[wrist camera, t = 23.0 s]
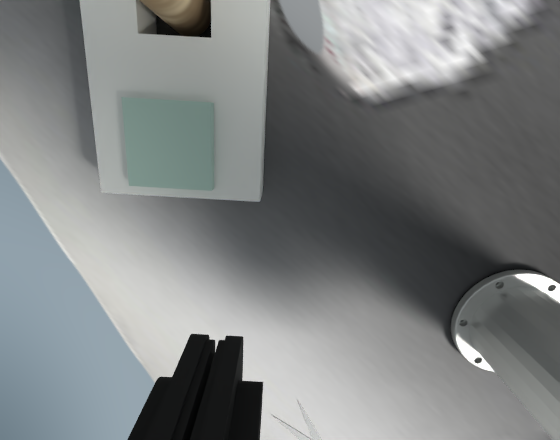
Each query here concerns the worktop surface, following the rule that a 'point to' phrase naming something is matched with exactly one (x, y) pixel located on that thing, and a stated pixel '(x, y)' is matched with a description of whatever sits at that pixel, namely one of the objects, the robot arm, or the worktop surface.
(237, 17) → the block
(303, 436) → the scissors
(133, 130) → the latch flap
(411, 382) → the worktop surface
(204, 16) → the dowel
